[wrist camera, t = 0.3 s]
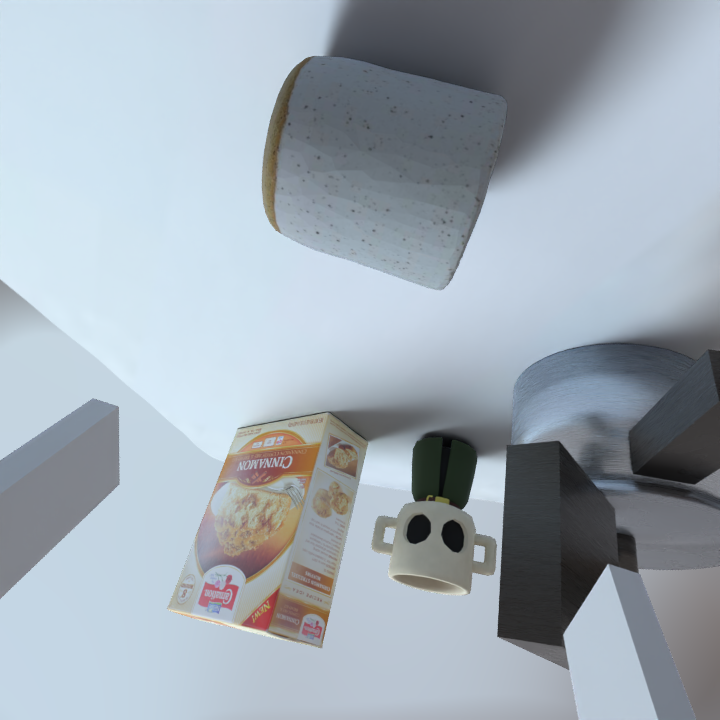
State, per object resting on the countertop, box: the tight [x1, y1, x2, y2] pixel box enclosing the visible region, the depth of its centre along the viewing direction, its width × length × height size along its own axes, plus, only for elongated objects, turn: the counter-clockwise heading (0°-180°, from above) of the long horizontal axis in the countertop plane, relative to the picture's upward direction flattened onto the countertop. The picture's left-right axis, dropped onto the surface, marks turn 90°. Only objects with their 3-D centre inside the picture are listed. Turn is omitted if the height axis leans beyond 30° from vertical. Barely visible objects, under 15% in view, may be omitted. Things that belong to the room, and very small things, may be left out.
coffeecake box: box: [167, 412, 368, 648], centre depth 49 cm, size 15×7×20 cm, turn 128°
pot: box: [511, 344, 720, 500], centre depth 31 cm, size 25×13×9 cm, turn 5°
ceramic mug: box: [262, 56, 507, 290], centre depth 21 cm, size 11×8×8 cm
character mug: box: [372, 437, 497, 595], centre depth 45 cm, size 11×7×13 cm, turn 94°
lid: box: [498, 441, 720, 670], centre depth 26 cm, size 20×14×9 cm
